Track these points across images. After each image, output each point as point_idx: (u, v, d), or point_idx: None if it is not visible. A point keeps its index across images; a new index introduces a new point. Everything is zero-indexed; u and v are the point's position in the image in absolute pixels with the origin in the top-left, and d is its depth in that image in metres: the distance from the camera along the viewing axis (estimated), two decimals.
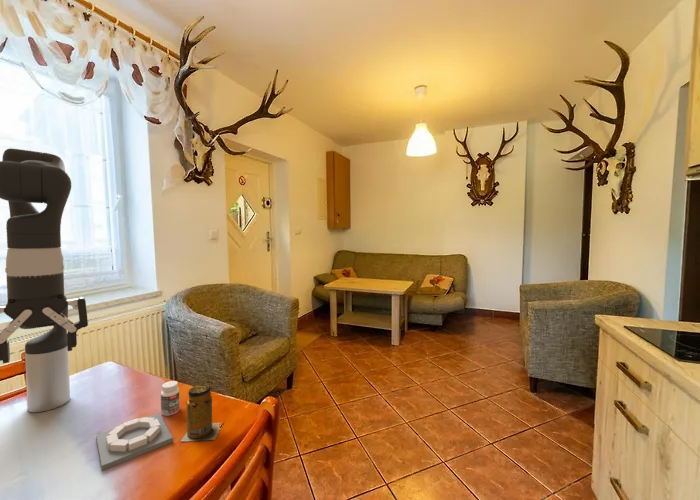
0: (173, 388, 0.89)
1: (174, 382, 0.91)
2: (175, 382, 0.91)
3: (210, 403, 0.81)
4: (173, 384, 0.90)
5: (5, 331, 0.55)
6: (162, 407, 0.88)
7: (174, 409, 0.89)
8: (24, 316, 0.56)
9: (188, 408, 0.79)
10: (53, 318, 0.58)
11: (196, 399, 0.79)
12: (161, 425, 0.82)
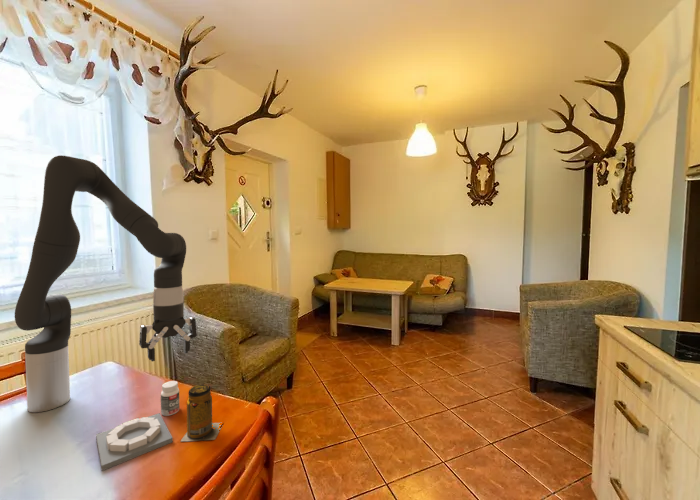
0: (173, 388, 0.89)
1: (174, 382, 0.91)
2: (175, 382, 0.91)
3: (210, 403, 0.81)
4: (173, 384, 0.90)
5: (153, 341, 0.85)
6: (162, 407, 0.88)
7: (174, 409, 0.89)
8: (164, 331, 0.86)
9: (188, 408, 0.79)
10: (178, 332, 0.89)
11: (196, 399, 0.79)
12: (161, 425, 0.82)
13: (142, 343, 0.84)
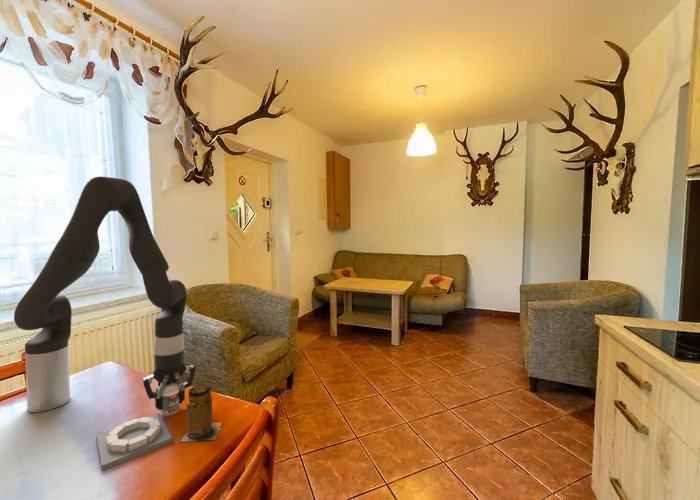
0: (173, 388, 0.89)
1: None
2: None
3: (210, 403, 0.81)
4: (173, 384, 0.90)
5: (159, 390, 0.87)
6: (162, 407, 0.88)
7: (174, 409, 0.89)
8: (165, 379, 0.87)
9: (188, 408, 0.79)
10: (177, 380, 0.90)
11: (196, 399, 0.79)
12: (161, 425, 0.82)
13: (149, 394, 0.85)
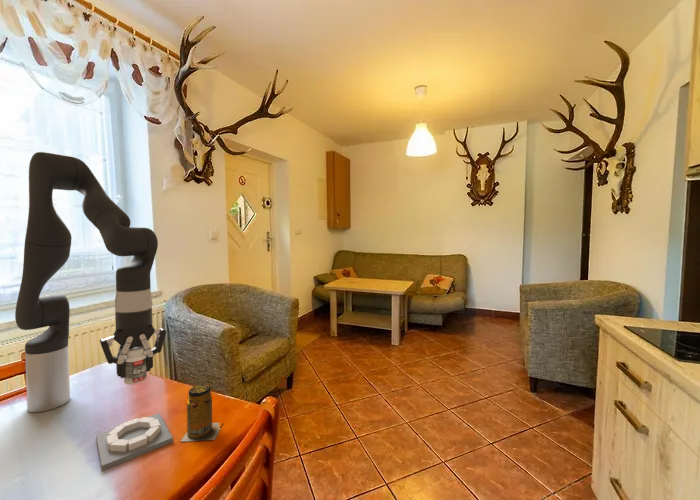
0: (138, 353, 0.76)
1: None
2: None
3: (210, 403, 0.81)
4: (139, 348, 0.77)
5: (121, 355, 0.74)
6: (125, 375, 0.75)
7: (139, 377, 0.76)
8: (128, 341, 0.74)
9: (188, 408, 0.79)
10: (143, 343, 0.77)
11: (196, 399, 0.79)
12: (161, 425, 0.82)
13: (108, 358, 0.72)
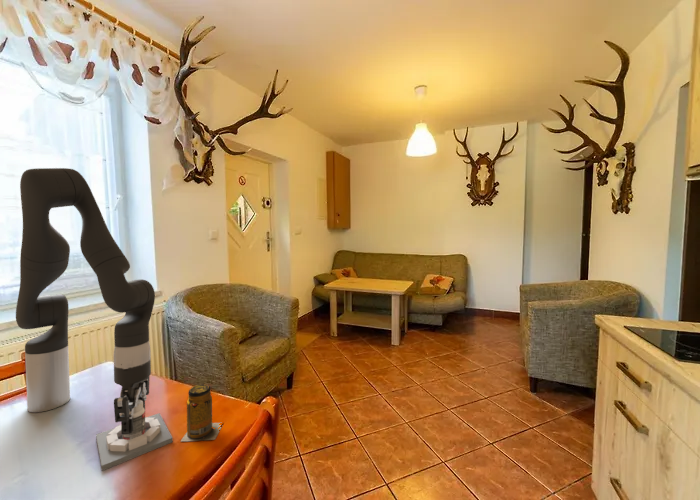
0: None
1: None
2: None
3: (210, 403, 0.81)
4: (138, 402, 0.78)
5: (132, 408, 0.74)
6: (133, 431, 0.76)
7: None
8: (139, 393, 0.76)
9: (188, 408, 0.79)
10: (143, 390, 0.79)
11: (196, 399, 0.79)
12: (161, 425, 0.82)
13: (127, 415, 0.71)
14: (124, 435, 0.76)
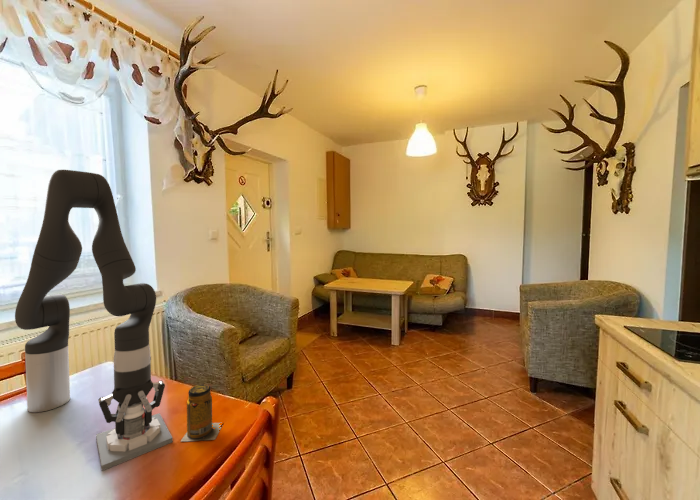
0: (142, 405, 0.78)
1: None
2: None
3: (210, 403, 0.81)
4: None
5: (119, 413, 0.74)
6: (133, 431, 0.76)
7: None
8: (126, 399, 0.74)
9: (188, 408, 0.79)
10: (142, 399, 0.77)
11: (196, 399, 0.79)
12: (161, 425, 0.82)
13: (107, 418, 0.73)
14: (124, 435, 0.76)
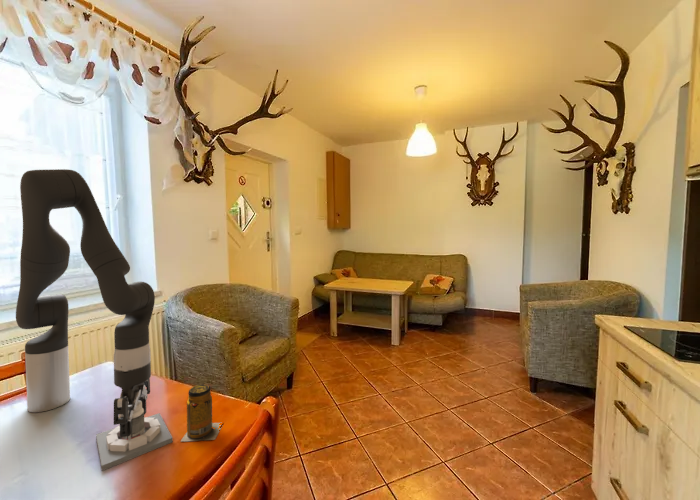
0: None
1: None
2: None
3: (210, 403, 0.81)
4: None
5: (131, 410, 0.74)
6: (142, 426, 0.78)
7: None
8: (139, 395, 0.76)
9: (188, 408, 0.79)
10: (144, 392, 0.80)
11: (196, 399, 0.79)
12: (161, 425, 0.82)
13: (126, 417, 0.71)
14: (133, 435, 0.76)
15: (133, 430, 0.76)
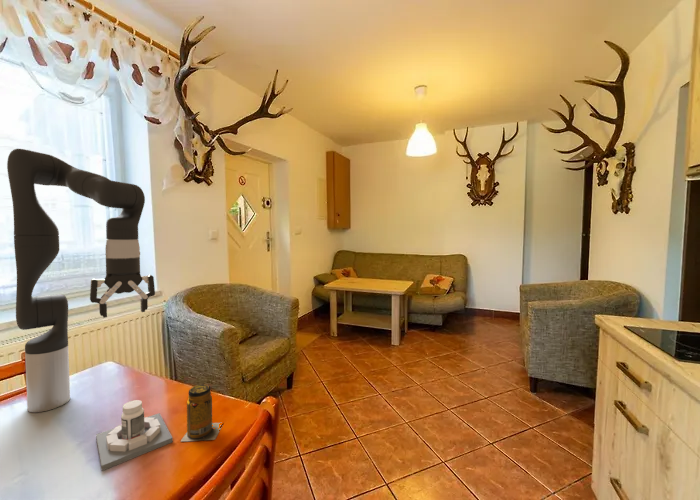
0: None
1: (128, 403, 0.77)
2: (128, 403, 0.78)
3: (210, 403, 0.81)
4: (134, 401, 0.78)
5: (105, 295, 0.81)
6: (142, 426, 0.78)
7: None
8: (117, 286, 0.82)
9: (188, 408, 0.79)
10: (134, 288, 0.84)
11: (196, 399, 0.79)
12: (161, 425, 0.82)
13: (92, 297, 0.79)
14: (133, 435, 0.76)
15: (133, 430, 0.76)
